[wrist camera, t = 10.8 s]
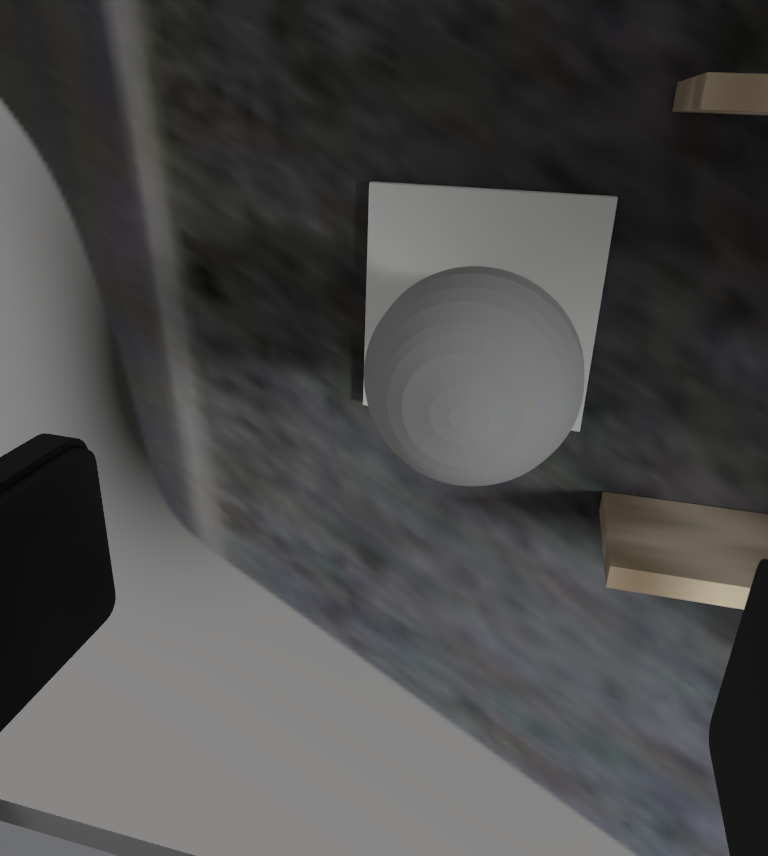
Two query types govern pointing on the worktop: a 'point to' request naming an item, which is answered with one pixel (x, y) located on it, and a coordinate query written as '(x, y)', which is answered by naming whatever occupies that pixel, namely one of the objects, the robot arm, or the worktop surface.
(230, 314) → the worktop surface
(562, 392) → the light bulb
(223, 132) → the worktop surface
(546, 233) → the grey pad
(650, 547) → the u-shaped wooden frame
